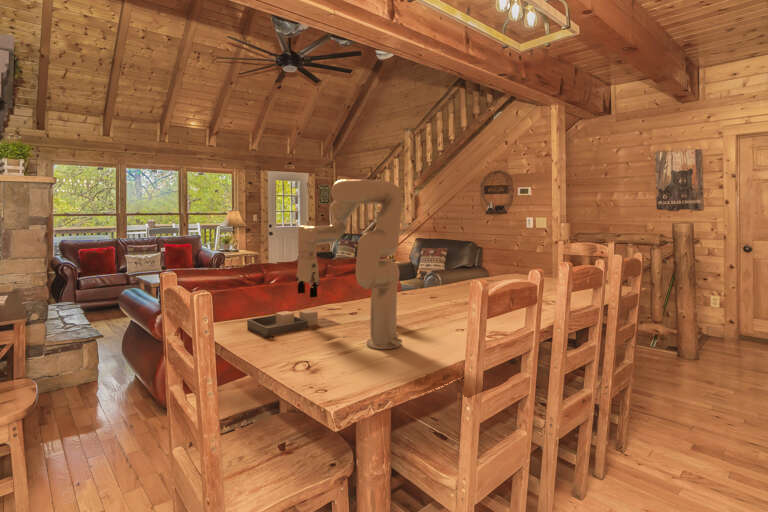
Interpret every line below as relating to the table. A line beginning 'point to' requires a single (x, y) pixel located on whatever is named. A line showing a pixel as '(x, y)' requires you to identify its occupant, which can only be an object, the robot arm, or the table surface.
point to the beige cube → (309, 316)
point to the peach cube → (284, 318)
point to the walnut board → (323, 324)
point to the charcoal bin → (274, 326)
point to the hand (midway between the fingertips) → (307, 295)
